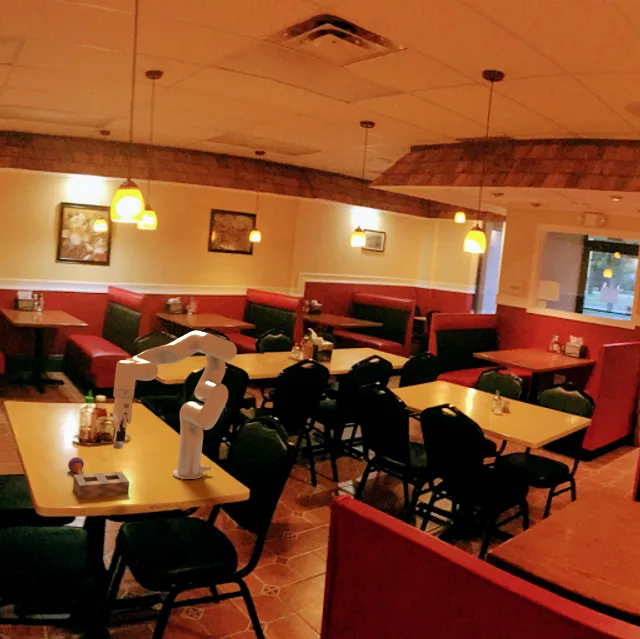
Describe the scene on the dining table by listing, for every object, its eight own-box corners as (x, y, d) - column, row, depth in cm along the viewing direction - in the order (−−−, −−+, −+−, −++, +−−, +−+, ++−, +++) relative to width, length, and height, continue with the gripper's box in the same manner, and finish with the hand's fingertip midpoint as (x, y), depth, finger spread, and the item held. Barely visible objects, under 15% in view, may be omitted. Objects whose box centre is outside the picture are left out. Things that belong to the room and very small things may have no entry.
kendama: (74, 476, 250) (66, 456, 267) (76, 490, 251) (68, 470, 268) (90, 472, 252) (81, 453, 269) (92, 486, 254) (83, 466, 271)
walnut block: (120, 483, 258) (121, 471, 257) (128, 494, 247) (129, 481, 247) (73, 487, 248) (73, 474, 248) (78, 498, 238) (79, 485, 238)
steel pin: (121, 446, 251) (124, 420, 251) (123, 448, 248) (126, 423, 248) (112, 446, 250) (115, 421, 249) (114, 449, 247) (117, 423, 246)
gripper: (139, 397, 243) (134, 445, 244) (127, 388, 257) (123, 433, 258) (119, 397, 239) (114, 446, 240) (108, 388, 253) (103, 434, 254)
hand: (118, 439), depth 249 cm, fingers closed on steel pin, 3 cm apart
